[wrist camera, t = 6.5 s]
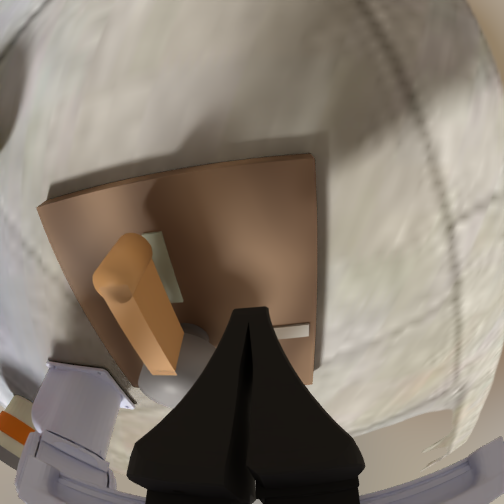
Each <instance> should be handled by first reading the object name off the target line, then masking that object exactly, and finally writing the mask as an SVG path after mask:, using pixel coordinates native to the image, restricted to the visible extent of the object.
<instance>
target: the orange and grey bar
mask: <svg viewBox="0 0 504 504" xmlns="http://www.w3.org/2000/svg"><path fill="white" fill-rule="evenodd" d="M152 254H153V252H152V248H151V245H150V244H149V242H148V241H147V240H146V239H145V238H144V237H143V236H141V235H139V234H136V233H126V234H124V235H122V236H121V237H120V238H119V240H118V241H117V242H116V244H115V245H114V246H113V248H112V249H111V250H110V252H109V253H108V254H107V256H106V257H105V258H104V260H103V261H102V262H101V264H100V265H99V267H98V268H97V269H96V271H95V272H94V274H93V285H94V287H95V289H96V291H97V292H98V293H99V294H100V295H101V296H102V297H103V298H104V299H105V301H106V303H107V305H108V306H109V308H110V310H111V312H112V313H113V315H114V317H115V318H116V320H117V322H118V324H119V325H120V327H121V328H122V330H123V332H124V333H125V335H126V337H127V338H128V340H129V341H130V343H131V344H132V346H133V348H134V349H135V351H136V352H137V354H138V355H139V357H140V358H141V360H142V361H143V362H144V364H143V367H142V370H141V373H140V376H139V380H138V385H139V388H140V390H141V391H142V392H143V393H144V394H145V395H146V396H147V397H148V398H150V399H151V400H153V401H154V402H156V403H158V404H161V405H163V406H166V407H169V408H172V409H174V408H175V406H176V405H177V404H178V403H179V402H180V401H181V400H182V398H183V397H184V396H185V395H186V393H187V392H188V391H189V390H190V389H191V387H192V386H193V384H194V383H195V382H196V380H197V379H198V378H199V376H200V375H201V373H202V372H203V370H204V368H205V367H206V365H207V363H208V362H209V360H210V358H211V357H212V355H213V353H214V351H215V350H216V348H215V347H214V346H213V345H212V344H211V343H209V342H208V341H206V340H204V339H202V338H200V337H198V336H195V335H192V334H188V333H184V331H183V329H182V327H181V325H180V323H179V321H178V318H177V316H176V314H175V312H174V310H173V307H172V305H171V303H170V301H169V298H168V296H167V294H166V291H165V289H164V287H163V284H162V282H161V279H160V277H159V275H158V272H157V270H156V267H155V265H154V262H153V260H152Z"/></svg>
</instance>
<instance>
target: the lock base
mask: <svg viewBox="0 0 504 504" xmlns="http://www.w3.org/2000/svg"><path fill="white" fill-rule="evenodd" d="M37 211H38V214H39V216H40V219H41V222H42V224H43V227H44V229H45V232H46V234H47V237H48V239H49V242H50V244H51V246H52V249H53V251H54V253H55V255H56V258H57V260H58V262H59V264H60V266H61V268H62V271H63V273H64V275H65V277H66V279H67V281H68V283H69V285H70V287H71V289H72V291H73V292H74V294H75V296H76V298H77V300H78V302H79V304H80V305H81V307H82V309H83V311H84V313H85V314H86V316H87V318H88V319H89V321H90V323H91V325H92V326H93V328H94V329H95V331H96V333H97V334H98V336H99V338H100V339H101V341H102V342H103V344H104V345H105V347H106V348H107V350H108V352H109V353H110V355H111V356H112V358H113V359H114V360H115V362H116V363H117V365H118V366H119V368H120V369H121V370H122V372H123V373H124V375H125V376H126V377H127V379H128V380H129V381H130V383H131V384H132V385H133V387H137V388H139V385H138V380H139V376H140V373H141V370H142V367H143V364H144V362H143V361H142V360H141V358H140V357H139V355H138V354H137V352H136V351H135V349H134V348H133V346H132V344H131V343H130V341H129V340H128V338H127V337H126V335H125V333H124V332H123V330H122V328H121V327H120V325H119V324H118V322H117V320H116V318H115V317H114V315H113V313H112V312H111V310H110V308H109V306H108V305H107V303H106V301H105V299H104V298H103V297H102V296H101V295H100V294H99V293H98V292H97V291H96V289H95V287H94V285H93V274H94V272H95V271H96V269H97V268H98V267H99V265H100V264H101V262H102V261H103V260H104V258H105V257H106V256H107V254H108V253H109V252H110V250H111V249H112V248H113V246H114V245H115V244H116V242H117V241H118V240H119V238H120V237H121V236H122V235H124V234H126V233H136V234H139V235H141V236H143V237H144V238H145V239H146V240H147V241H148V242H149V244H150V245H151V248H152V252H153V254H152V260H153V262H154V265H155V267H156V270H157V272H158V275H159V277H160V279H161V282H162V284H163V287H164V289H165V291H166V294H167V296H168V298H169V301H170V303H171V305H172V307H173V310H174V312H175V314H176V316H177V318H178V321H179V323H180V325H181V327H182V329H183V331H184V333H188V334H192V335H195V336H198V337H200V338H202V339H204V340H206V341H208V342H209V343H211V344H212V345H213V346H214V347H215V348H217V346H218V344H219V342H220V340H221V338H222V336H223V333H224V331H225V329H226V327H227V324H228V322H229V319H230V317H231V314H232V311H233V310H234V309H238V308H250V307H261V306H266V307H268V308H269V315H270V319H271V322H272V325H273V328H274V331H275V333H276V336H277V338H278V340H279V342H280V344H281V346H282V349H283V351H284V352H285V354H286V356H287V358H288V360H289V362H290V363H291V365H292V367H293V368H294V370H295V372H296V373H297V375H298V376H299V378H300V379H301V381H302V382H303V384H304V385H310V384H312V382H313V368H314V352H315V334H316V308H317V197H316V172H315V158H314V157H313V156H312V155H311V154H310V153H308V154H294V155H282V156H271V157H261V158H252V159H243V160H235V161H228V162H220V163H213V164H206V165H200V166H194V167H187V168H182V169H176V170H170V171H165V172H160V173H154V174H149V175H144V176H140V177H135V178H130V179H126V180H121V181H117V182H113V183H108V184H104V185H100V186H96V187H92V188H88V189H85V190H81V191H77V192H73V193H70V194H66V195H63V196H59V197H56V198H53V199H49V200H46V201H45V202H43V203H42V204H41V205H39V206H38V207H37Z"/></svg>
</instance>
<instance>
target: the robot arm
mask: <svg viewBox="0 0 504 504" xmlns="http://www.w3.org/2000/svg"><path fill="white" fill-rule="evenodd" d="M46 365H47V366H48V368H49V370H48V372H47V374H46V376H45V378H44V380H43V383H42V385H41V387H40V389H39V391H38V393H37V395H36V398H35V400H34V402H33V405H32V410H31V417H32V422H33V425H34V427H35V429H36V430H37V431H38V432H37V431H35V432H30V433H29V435H28V438H27V440H26V443H25V445H24V448H23V451H22V454H21V457H20V460H19V463H18V467H17V475H16V478H15V486H16V491H17V493H18V497H19V498H20V499H22V500H23V501H24V502H25V503H26V504H252V503H253V502H254V501H255V500H256V499H260V501H261V502H262V503H263V504H489V503H490V502H492V501H493V500H495V499H496V498H498V497H499V496H500V495H502V494H503V493H504V441H503V438H502V437H501V436H499V437H498V438H496V439H494V440H493V441H491V442H489V443H487V444H486V445H484V446H482V447H480V448H479V449H477V450H476V451H474V452H473V453H471V454H470V455H469V456H468V457H467V458H465V459H463V460H460V461H458V462H456V463H454V464H452V465H450V466H448V467H445V468H443V469H441V470H439V471H436V472H434V473H431V474H428V475H426V476H423V477H421V478H418V479H415V480H412V481H410V482H407V483H404V484H401V485H397V486H394V487H391V488H387V489H384V490H380V491H377V492H373V493H369V494H365V495H361V496H359V492H358V486H359V479H358V475H359V474H360V473H361V472H362V471H363V470H364V468H365V463H364V460H363V457H362V455H361V452H360V450H359V448H358V446H357V445H356V443H355V441H354V439H353V438H352V437H351V436H350V435H349V434H348V433H347V432H346V431H345V430H344V429H342V428H341V427H340V426H339V425H338V424H337V423H336V422H335V421H334V420H333V419H332V417H331V416H330V415H329V414H328V413H327V412H326V411H325V410H324V409H323V408H322V406H321V405H320V404H319V403H318V402H317V400H316V399H315V398H314V397H313V396H312V394H311V393H310V392H309V390H308V389H307V388H306V386H305V385H304V384H303V382H302V381H301V379H300V378H299V376H298V375H297V373H296V372H295V370H294V368H293V367H292V365H291V363H290V362H289V360H288V358H287V356H286V354H285V352H284V351H283V349H282V346H281V344H280V342H279V340H278V338H277V336H276V333H275V331H274V328H273V325H272V322H271V319H270V315H269V308H268V307H266V306H261V307H250V308H238V309H234V310H233V311H232V314H231V317H230V319H229V322H228V324H227V327H226V329H225V331H224V333H223V336H222V338H221V340H220V342H219V344H218V346H217V348H216V350H215V351H214V353H213V355H212V357H211V358H210V360H209V362H208V363H207V365H206V367H205V368H204V370H203V372H202V373H201V375H200V376H199V378H198V379H197V380H196V382H195V383H194V384H193V386H192V387H191V389H190V390H189V391H188V392H187V393H186V395H185V396H184V397H183V398H182V400H181V401H180V402H179V403H178V404H177V405H176V406H175V408H174V409H173V410H172V411H171V412H170V413H169V414H168V415H167V416H166V417H165V418H164V419H163V420H162V421H161V422H160V423H159V424H157V425H156V426H155V427H154V428H153V429H152V430H150V431H149V432H148V433H147V434H146V435H144V436H143V437H142V438H141V439H140V440H138V441H137V442H136V443H135V445H134V448H133V451H132V453H131V456H130V461H129V465H128V470H127V477H128V478H129V480H131V481H132V482H134V483H136V484H138V485H140V486H142V487H144V488H146V489H147V495H146V498H145V497H141V496H136V495H132V494H128V493H124V492H120V491H117V490H116V479H115V476H114V474H113V472H112V470H111V469H109V464H110V463H109V462H107V461H105V458H106V455H107V451H108V447H109V443H110V439H111V436H112V432H113V428H114V425H115V421H116V418H117V415H118V411H119V408H127V409H135V405H134V404H133V403H132V401H131V400H130V399H129V398H128V397H127V396H126V394H125V393H124V392H123V391H122V389H121V388H120V387H119V386H118V384H117V383H116V382H115V381H114V379H113V378H112V377H111V375H110V374H109V373H108V371H107V370H105V369H102V368H93V367H85V366H77V365H70V364H63V363H57V362H51V361H47V362H46ZM255 481H256V492H255Z"/></svg>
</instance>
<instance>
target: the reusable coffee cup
mask: <svg viewBox="0 0 504 504" xmlns="http://www.w3.org/2000/svg"><path fill="white" fill-rule="evenodd" d="M32 405H33V403H32V402H30V401H29V400H27V399H25V398H23V397H21V396H19V395H15V396H14V397H13V399H12V400H11V402H10V403H9V405H8V406H7V408H6V409H5V411H2V412H1V413H0V460H1V461H3V462H4V463H6V464H7V465H9V466H10V467H12V468H13V469H15V470H17V467H18V463H19V460H20V457H21V454H22V451H23V448H24V445H25V443H26V440H27V438H28V435H29V433H30V432H35V431H37V430H36V429H35V427H34V425H33V422H32V417H31V410H32ZM37 432H38V431H37Z"/></svg>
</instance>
